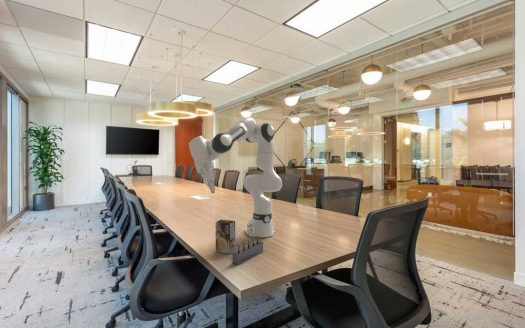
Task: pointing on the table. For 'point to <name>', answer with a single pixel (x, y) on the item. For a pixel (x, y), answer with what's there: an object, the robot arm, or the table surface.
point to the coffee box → (225, 236)
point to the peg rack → (247, 251)
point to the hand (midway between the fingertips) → (213, 191)
